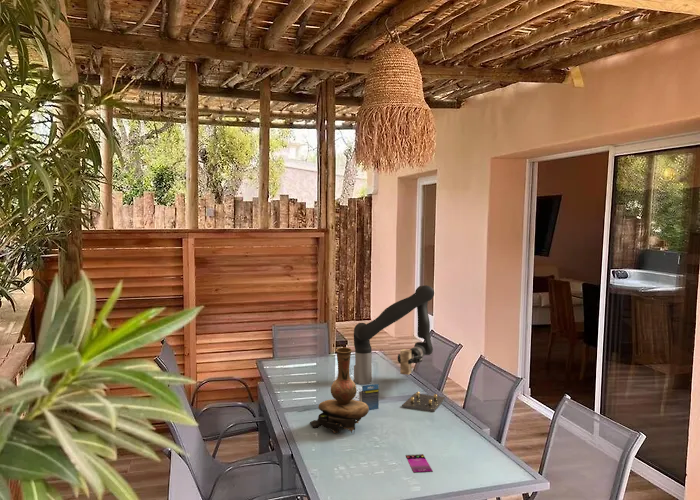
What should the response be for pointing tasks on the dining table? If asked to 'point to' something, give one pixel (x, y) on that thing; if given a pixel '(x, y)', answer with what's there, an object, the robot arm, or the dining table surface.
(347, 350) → the vase
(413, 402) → the chassis
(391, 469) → the dining table surface
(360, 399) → the label tape box
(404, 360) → the maple block
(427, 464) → the smartphone
